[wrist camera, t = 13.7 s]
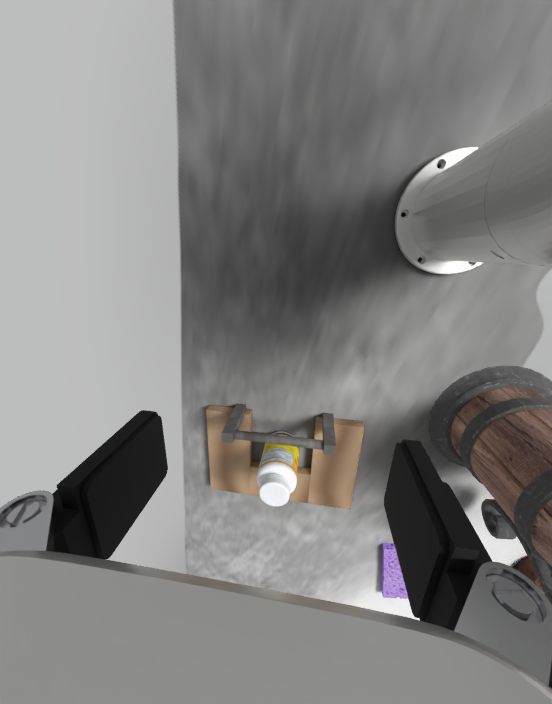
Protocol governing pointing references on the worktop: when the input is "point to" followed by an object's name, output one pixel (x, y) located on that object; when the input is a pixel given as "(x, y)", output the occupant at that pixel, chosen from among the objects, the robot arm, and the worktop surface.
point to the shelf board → (328, 445)
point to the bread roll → (528, 571)
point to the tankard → (504, 452)
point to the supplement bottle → (278, 472)
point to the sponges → (392, 574)
